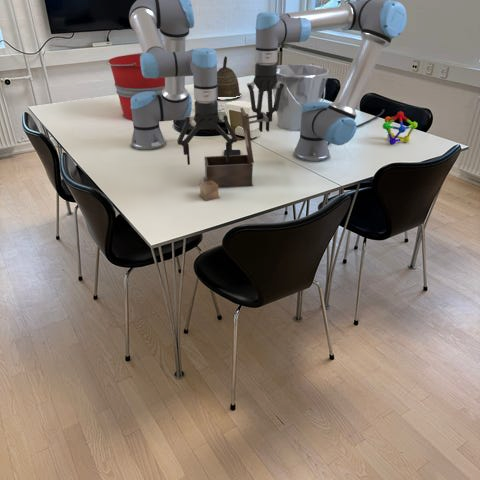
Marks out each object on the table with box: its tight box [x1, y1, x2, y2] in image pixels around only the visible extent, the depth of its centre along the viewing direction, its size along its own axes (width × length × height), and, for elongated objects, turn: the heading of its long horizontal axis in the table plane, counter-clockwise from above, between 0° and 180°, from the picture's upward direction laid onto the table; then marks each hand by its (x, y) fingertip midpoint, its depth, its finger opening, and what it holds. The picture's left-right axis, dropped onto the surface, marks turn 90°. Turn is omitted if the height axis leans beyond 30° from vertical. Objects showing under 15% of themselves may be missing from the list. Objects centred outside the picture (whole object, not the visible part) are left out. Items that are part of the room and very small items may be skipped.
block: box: [199, 180, 220, 201], centre depth 160 cm, size 5×5×5 cm
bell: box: [217, 56, 242, 97], centre depth 278 cm, size 19×26×20 cm
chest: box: [204, 154, 253, 189], centre depth 170 cm, size 17×10×9 cm, turn 98°
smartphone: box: [223, 149, 241, 156], centre depth 194 cm, size 7×1×15 cm
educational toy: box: [382, 110, 418, 145], centre depth 207 cm, size 16×13×15 cm
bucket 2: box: [272, 63, 330, 131], centre depth 226 cm, size 30×30×28 cm
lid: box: [240, 107, 269, 164], centre depth 164 cm, size 18×10×9 cm
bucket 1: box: [105, 52, 165, 121], centre depth 241 cm, size 35×35×30 cm
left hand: (208, 162), depth 154 cm, fingers open, 13 cm apart
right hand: (264, 130), depth 164 cm, fingers closed on lid, 2 cm apart
